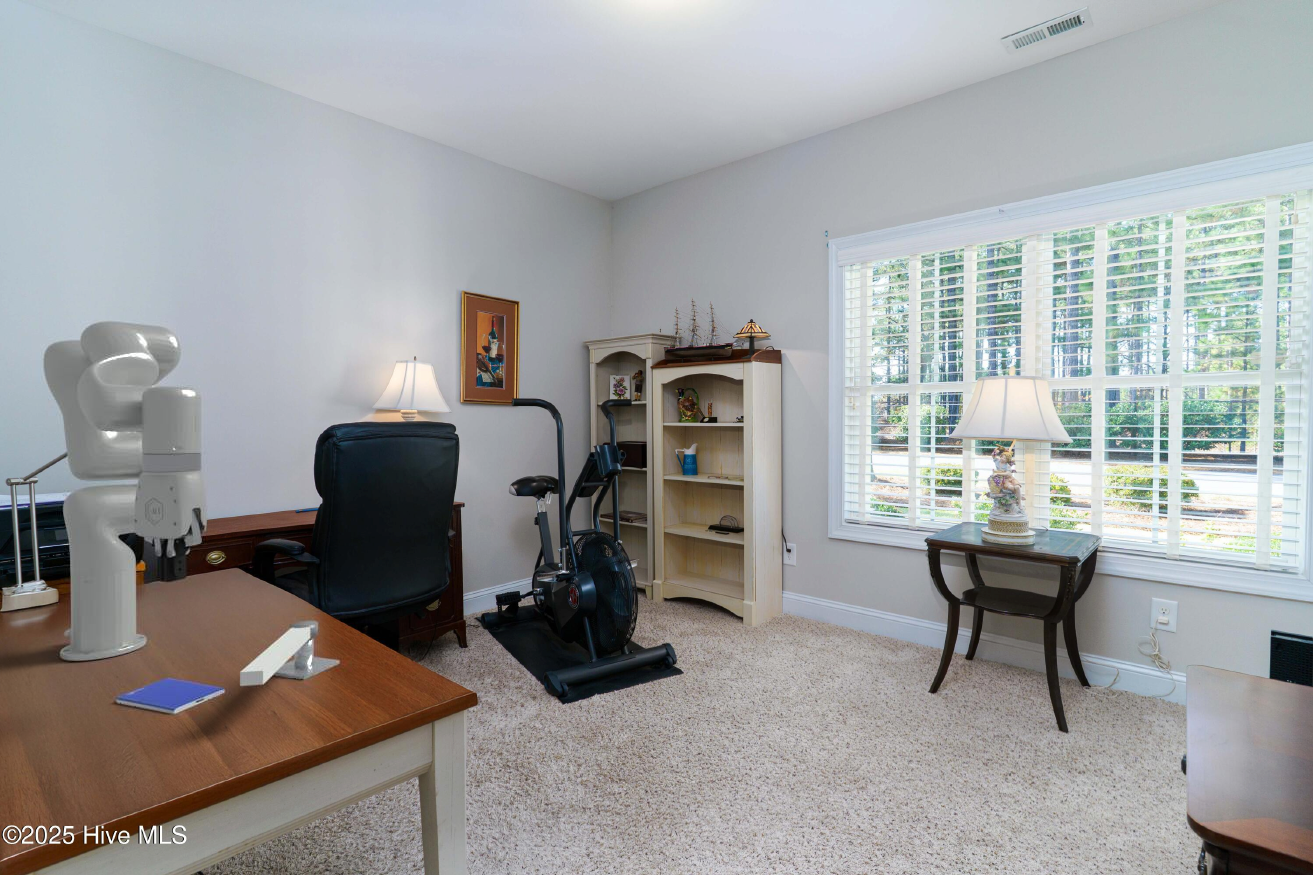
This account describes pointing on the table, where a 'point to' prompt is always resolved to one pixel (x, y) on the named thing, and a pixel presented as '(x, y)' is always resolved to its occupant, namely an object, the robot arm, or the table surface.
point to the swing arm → (278, 653)
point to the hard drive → (170, 695)
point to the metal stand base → (305, 663)
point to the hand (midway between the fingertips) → (172, 579)
